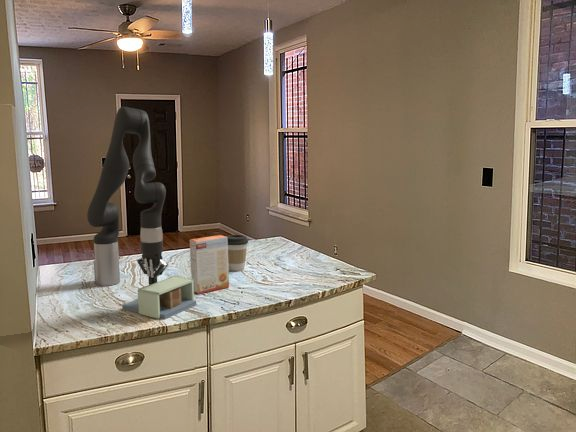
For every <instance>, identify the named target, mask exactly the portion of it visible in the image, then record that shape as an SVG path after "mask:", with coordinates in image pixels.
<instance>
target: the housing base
mask: <svg viewBox="0 0 576 432" xmlns="http://www.w3.org/2000/svg"><path fill="white" fill-rule="evenodd" d="M195 306H197V300H195V299H194V300H189V299H185V298H181V305H179V306H176V307H174V308H172V309H169V308H165V307H160V318H159V319H163V320H167V319H168V318H171V317H173V316H175V315H177V314H180V313H182V312H185V311H186V310H188V309H191V308H193V307H195ZM122 309H123V310H126V311H131V312H133V313H138V314H139V305H138V298H136V299H134V300H132V301H128V302H126V303H123V304H122Z"/></svg>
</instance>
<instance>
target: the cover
mask: <svg viewBox="0 0 576 432" xmlns="http://www.w3.org/2000/svg"><path fill="white" fill-rule="evenodd" d="M178 287H179V288H181V298H185V299H189V300H194V301H195V292H194V283H193V279H191V278H188V277H182V276H177V275H173V276H170V277H168V278H165V279H162V280H159V281H157V282H156V283H153V284H151V285H149V284H148V285H145V286H143V287H142V286H141V287H139V288H137V299H138V305H139V313H138V314H139V315H142V316H146V317H150V318H155V319H161V318H160V301H159V295H160V294H163V293H166V292H168V291H171V290H173V289H176V288H178Z"/></svg>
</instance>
